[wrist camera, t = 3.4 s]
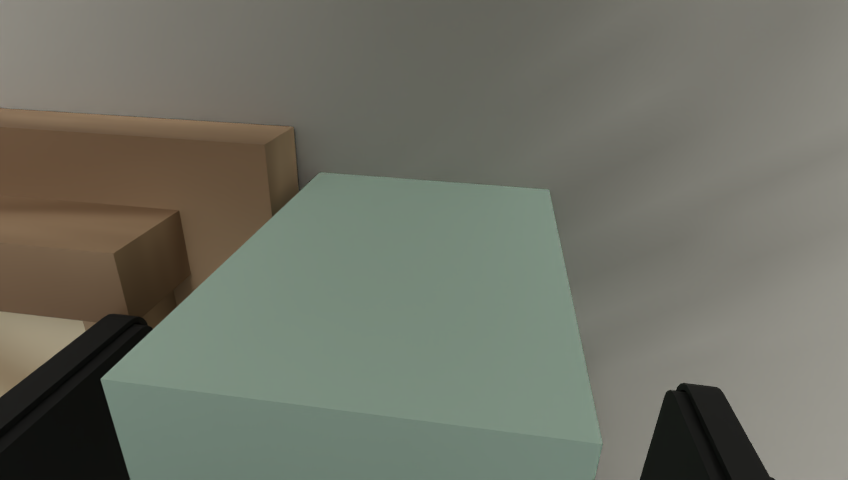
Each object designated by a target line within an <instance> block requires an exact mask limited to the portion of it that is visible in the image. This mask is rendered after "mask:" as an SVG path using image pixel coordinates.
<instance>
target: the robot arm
mask: <svg viewBox="0 0 848 480" xmlns="http://www.w3.org/2000/svg"><path fill="white" fill-rule="evenodd" d="M152 330H153V328H152V327H150V326H148V324H147V322H146V320H145V319H144V318H141V317H137V316H129V315H121V314H108V315H107V316H105V317H103V318H102V319H101V320H99V321H98V322H97V323H96V324H94V325H93V326H92V327H90V328H89V329H88V330H86V331H85V332H84V333H83V334H81V335H80V336H79V337H77V338H76V339H75V340H74V341H72V342H71V343H70V344H68V345H67V346H66V347H65V348H63V349H62V350H61V351H59V352H58V353H57V354H56V355H54V356H53V357H52V358H50V359H49V360H48V361H46V362H45V363H44V364H43V365H41V366H40V367H39V368H37V369H36V370H35V371H34V372H32V373H31V374H30V375H28V376H27V377H26V378H25V379H23V380H22V381H21V382H19V383H18V384H17V385H16V386H14V387H13V388H12V389H10V390H9V391H8V392H6V393H5V394H4V395H3V396H1V397H0V480H130V477H129V474H128V470H127V467H126V463H125V460H124V457H123V453H122V450H121V447H120V443H119V440H118V437H117V433H116V430H115V427H114V423H113V420H112V417H111V413H110V410H109V406H108V403H107V400H106V396H105V393H104V390H103V386H102V383H101V380H100V379H101V378H102V377H103V376H104V375H105V374H106V373H107V372H108V371H109V370H110V369H111V368H113V367H114V366H115V365H116V364H117V363H118V362H119V361H120V360H121V359H122V358H123V357H124V356H125V355H126V354H127V353H128V352H130V351H131V350H132V349H133V348H134V347H135V346H136V345H137V344H138V343H139V342H140V341H141V340H142V339H143V338H144V337H145V336H147V335H148V334H149V333H150V332H151V331H152ZM640 480H775V479H774V478H772V477H770V476H769V475H768V473H767V471H766V469H765V467H764V466H763V464H762V462H761V460H760V458H759V457H758V455H757V453H756V451H755V449H754V448H753V446H752V444H751V442H750V440H749V439H748V437H747V435H746V433H745V431H744V430H743V428H742V426H741V424H740V422H739V421H738V419H737V417H736V415H735V413H734V412H733V410H732V408H731V406H730V404H729V403H728V401H727V399H726V397H725V395H724V394H723V392H722V391H721V390H720V389H719V388H717V387H711V386H703V385H695V384H687V383H682V384H680V385H679V386H678V387H677V390H676V391H672V390H669V391H667V392H666V394H665V397H664V400H663V403H662V407H661V410H660V413H659V417H658V420H657V424H656V427H655V430H654V434H653V437H652V440H651V444H650V447H649V450H648V454H647V457H646V461H645V464H644V467H643V471H642V474H641V477H640Z"/></svg>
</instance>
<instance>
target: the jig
mask: <svg viewBox="0 0 848 480" xmlns="http://www.w3.org/2000/svg"><path fill="white" fill-rule="evenodd" d="M298 192H299V187H298V175H297V162H296V150H295V137H294V127H290V126H274V125H258V124H242V123H226V122H210V121H194V120H178V119H163V118H147V117H131V116H115V115H99V114H83V113H67V112H51V111H36V110H20V109H4V108H0V397H1V396H3V395H4V394H5V393H6V392H8V391H9V390H10V389H12V388H13V387H14V386H16V385H17V384H18V383H19V382H21V381H22V380H23V379H25V378H26V377H27V376H28V375H30V374H31V373H32V372H34V371H35V370H36V369H37V368H39V367H40V366H41V365H43V364H44V363H45V362H46V361H48V360H49V359H50V358H52V357H53V356H54V355H56V354H57V353H58V352H59V351H61V350H62V349H63V348H65V347H66V346H67V345H68V344H70V343H71V342H72V341H74V340H75V339H76V338H77V337H79V336H80V335H81V334H83V333H84V332H85V331H86V330H88V329H89V328H90V327H92V326H93V325H94V324H96V323H97V322H98V321H99V320H101V319H102V318H103V317H105V316H107V315H108V314H121V315H129V316H137V317H141V318H144V319H145V320H146V322H147V324H148V326H150V327H152V328H153V329H154V328H155V327H156V326H157V325H158V324H159V323H160V322H161V321H162V320H164V319H165V318H166V317H167V316H168V315H169V314H170V313H171V312H172V311H173V310H174V309H175V308H176V307H177V306H178V305H179V304H181V303H182V302H183V301H184V300H185V299H186V298H187V297H188V296H189V295H190V294H191V293H192V292H193V291H194V290H195V289H196V288H198V287H199V286H200V285H201V284H202V283H203V282H204V281H205V280H206V279H207V278H208V277H209V276H210V275H211V274H212V273H213V272H214V271H216V270H217V269H218V268H219V267H220V266H221V265H222V264H223V263H224V262H225V261H226V260H227V259H228V258H229V257H230V256H231V255H233V254H234V253H235V252H236V251H237V250H238V249H239V248H240V247H241V246H242V245H243V244H244V243H245V242H246V241H247V240H248V239H250V238H251V237H252V236H253V235H254V234H255V233H256V232H257V231H258V230H259V229H260V228H261V227H262V226H263V225H264V224H265V223H267V222H268V221H269V220H270V219H271V218H272V217H273V216H274V215H275V214H276V213H277V212H278V211H279V210H280V209H281V208H282V207H284V206H285V205H286V204H287V203H288V202H289V201H290V200H291V199H292V198H293V197H294V196H295V195H296V194H297V193H298Z"/></svg>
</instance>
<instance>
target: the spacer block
mask: <svg viewBox="0 0 848 480" xmlns="http://www.w3.org/2000/svg"><path fill="white" fill-rule="evenodd" d="M100 380H101V383H102V386H103V390H104V393H105V396H106V400H107V403H108V406H109V410H110V413H111V417H112V420H113V423H114V427H115V430H116V433H117V437H118V440H119V443H120V447H121V450H122V453H123V457H124V460H125V463H126V467H127V470H128V474H129V477H130V480H594V479H595V475H596V471H597V467H598V462H599V458H600V454H601V450H602V445H603V443H602V438H601V433H600V429H599V424H598V419H597V414H596V410H595V405H594V400H593V395H592V391H591V386H590V381H589V376H588V372H587V367H586V362H585V357H584V353H583V348H582V343H581V338H580V334H579V329H578V324H577V319H576V315H575V310H574V305H573V300H572V296H571V291H570V286H569V281H568V277H567V272H566V267H565V262H564V258H563V253H562V248H561V243H560V239H559V234H558V229H557V224H556V220H555V215H554V210H553V205H552V201H551V196H550V191H549V189H536V188H523V187H509V186H496V185H483V184H469V183H456V182H443V181H429V180H416V179H402V178H389V177H376V176H362V175H349V174H336V173H322V172H320V173H319V174H318V175H316V176H315V177H314V178H313V179H312V180H311V181H310V182H309V183H308V184H307V185H306V186H305V187H304V188H303V189H302V190H301V191H299V192H298V193H297V194H296V195H295V196H294V197H293V198H292V199H291V200H290V201H289V202H288V203H287V204H286V205H285V206H284V207H282V208H281V209H280V210H279V211H278V212H277V213H276V214H275V215H274V216H273V217H272V218H271V219H270V220H269V221H268V222H267V223H265V224H264V225H263V226H262V227H261V228H260V229H259V230H258V231H257V232H256V233H255V234H254V235H253V236H252V237H251V238H250V239H248V240H247V241H246V242H245V243H244V244H243V245H242V246H241V247H240V248H239V249H238V250H237V251H236V252H235V253H234V254H233V255H231V256H230V257H229V258H228V259H227V260H226V261H225V262H224V263H223V264H222V265H221V266H220V267H219V268H218V269H217V270H216V271H214V272H213V273H212V274H211V275H210V276H209V277H208V278H207V279H206V280H205V281H204V282H203V283H202V284H201V285H200V286H199V287H198V288H196V289H195V290H194V291H193V292H192V293H191V294H190V295H189V296H188V297H187V298H186V299H185V300H184V301H183V302H182V303H181V304H179V305H178V306H177V307H176V308H175V309H174V310H173V311H172V312H171V313H170V314H169V315H168V316H167V317H166V318H165V319H164V320H162V321H161V322H160V323H159V324H158V325H157V326H156V327H155V328H154V329H153V330H152V331H151V332H150V333H149V334H148V335H147V336H145V337H144V338H143V339H142V340H141V341H140V342H139V343H138V344H137V345H136V346H135V347H134V348H133V349H132V350H131V351H130V352H128V353H127V354H126V355H125V356H124V357H123V358H122V359H121V360H120V361H119V362H118V363H117V364H116V365H115V366H114V367H113V368H111V369H110V370H109V371H108V372H107V373H106V374H105V375H104V376H103V377H102V378H101V379H100Z"/></svg>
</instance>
